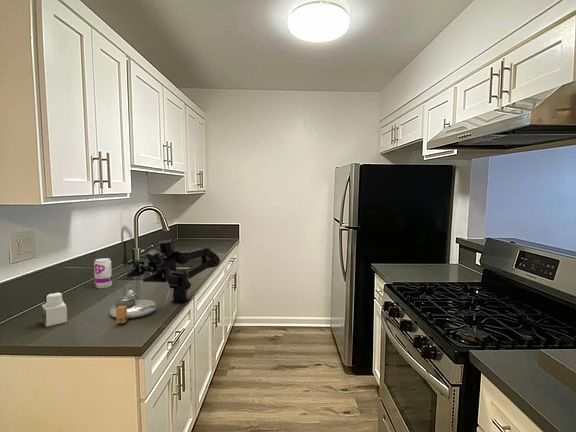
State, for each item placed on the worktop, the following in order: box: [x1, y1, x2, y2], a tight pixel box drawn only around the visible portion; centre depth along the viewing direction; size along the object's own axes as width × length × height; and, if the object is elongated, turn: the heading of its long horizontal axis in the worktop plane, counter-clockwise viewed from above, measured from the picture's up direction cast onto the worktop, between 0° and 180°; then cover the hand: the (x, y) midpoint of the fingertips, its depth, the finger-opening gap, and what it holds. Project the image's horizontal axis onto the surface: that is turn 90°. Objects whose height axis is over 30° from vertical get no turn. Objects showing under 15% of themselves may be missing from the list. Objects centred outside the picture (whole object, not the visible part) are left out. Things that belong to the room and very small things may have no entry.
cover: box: [114, 295, 136, 308], centre depth 153 cm, size 8×8×4 cm
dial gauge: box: [125, 289, 139, 300], centre depth 164 cm, size 4×4×6 cm
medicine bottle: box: [41, 291, 68, 328], centre depth 140 cm, size 7×7×12 cm
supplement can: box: [93, 257, 113, 289], centre depth 190 cm, size 8×8×15 cm
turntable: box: [109, 299, 157, 324], centre depth 149 cm, size 23×18×6 cm
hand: (135, 278), depth 143 cm, fingers open, 9 cm apart
